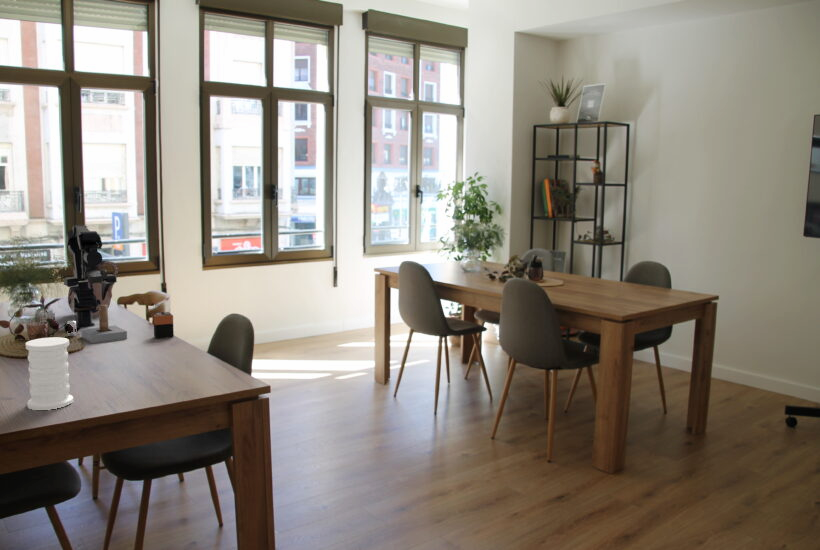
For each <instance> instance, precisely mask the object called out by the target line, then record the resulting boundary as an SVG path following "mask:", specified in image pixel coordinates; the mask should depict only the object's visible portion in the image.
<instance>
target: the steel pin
mask: <svg viewBox="0 0 820 550" xmlns="http://www.w3.org/2000/svg"><path fill="white" fill-rule="evenodd" d="M76 323H77V320H67V321H66V325H67V324H70V325H71V326H72V327H73V332H71V333H68V332H67V337H68V336H76V335H77V334H78V333H77V332H78V331H77V326H76ZM75 329H76V332H75ZM76 337H77V336H76Z"/></svg>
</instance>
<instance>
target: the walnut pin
mask: <svg viewBox="0 0 820 550" xmlns="http://www.w3.org/2000/svg"><path fill="white" fill-rule="evenodd" d="M108 309H109V307H108V306H107V305H99V316H98V321H99V322H98V326H99V327H98V328H100V332H107V331H108V326H109V311H108Z"/></svg>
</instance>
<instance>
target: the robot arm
mask: <svg viewBox="0 0 820 550" xmlns="http://www.w3.org/2000/svg"><path fill="white" fill-rule="evenodd" d="M65 243H66V246H68V247H67V248H68V251H69V253H70V254H71V255H72V256H73V261H74V265H75V274H76V278H75V277H72V276H70V277H65V278H63V285H64V286H66V287H68V288H71V289H72V291H73V292H74V298H73V301H72V310H71V311H72V312H73V313H74V312H77V315H76V327H78V328H83V327H89V326H91V327H92V326H95V325H96V324H95V323H94V322H93V320H92V319H93V318H92V317H93V316H92V315H91V311H96V304H97V300H96V298H95V296H94V294H93V290H92V289H90V288H89V287H88V283H91V284H94V283H101V285H102V300H104V299H105V296H106V293H107V290H108V288H109V287H110V285H113V283H114V284H115V283H118V281H117V278H116V276H115V275H114V274H111V273H110V274H108V271H107V269H103V270H101V271H99V267H98V265H99V264H100V263H101V262H102V260H103V256H102V254H101V253H100V252H99V251H98V250H102V249H103V248H102V247H103V242H102V237H101V236H100V234H99V233H98V231H96V230H89V228H87V225H85V224H75V225H73V226H72V229H70V230H69V231H68V232H67V233H66V237H65ZM102 281H103V282H102ZM113 286H114V285H113ZM76 308H77V309H76ZM79 326H81V327H79Z"/></svg>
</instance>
